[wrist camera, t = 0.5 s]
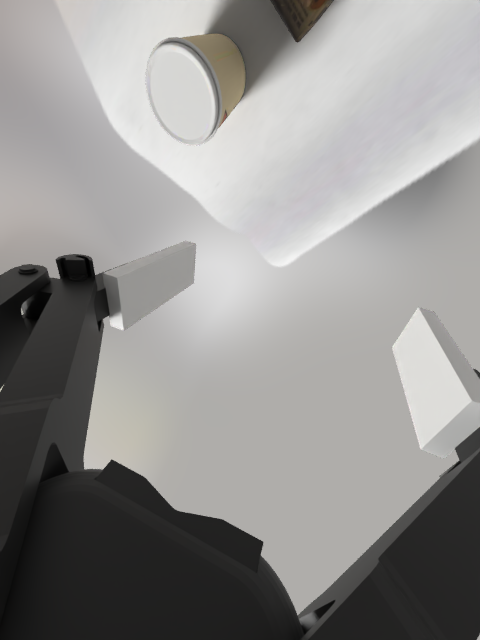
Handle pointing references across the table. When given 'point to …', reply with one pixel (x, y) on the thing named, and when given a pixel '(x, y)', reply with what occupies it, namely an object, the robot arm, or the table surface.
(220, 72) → the coffee cup
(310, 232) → the table surface
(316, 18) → the beverage carton
